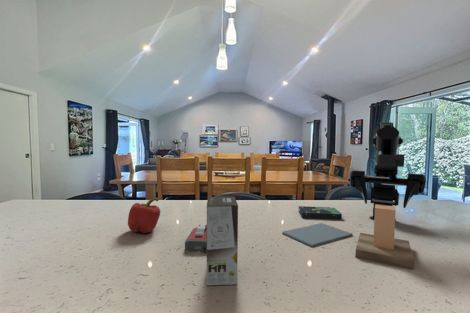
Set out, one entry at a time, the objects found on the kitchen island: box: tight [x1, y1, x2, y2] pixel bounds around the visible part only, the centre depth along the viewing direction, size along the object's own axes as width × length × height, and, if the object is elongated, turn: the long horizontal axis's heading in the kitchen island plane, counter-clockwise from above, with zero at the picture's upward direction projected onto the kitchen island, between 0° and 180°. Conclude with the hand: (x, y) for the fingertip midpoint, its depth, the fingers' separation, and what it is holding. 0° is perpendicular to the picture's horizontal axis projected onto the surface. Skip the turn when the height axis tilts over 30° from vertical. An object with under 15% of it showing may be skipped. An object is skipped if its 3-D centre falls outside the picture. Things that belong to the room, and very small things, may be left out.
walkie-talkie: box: [184, 224, 207, 253], centre depth 75 cm, size 9×4×20 cm
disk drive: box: [298, 205, 343, 221], centre depth 101 cm, size 10×3×15 cm
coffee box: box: [206, 196, 239, 286], centre depth 55 cm, size 9×6×16 cm
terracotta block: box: [373, 204, 396, 250], centre depth 66 cm, size 4×4×10 cm
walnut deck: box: [355, 232, 415, 270], centre depth 67 cm, size 14×12×2 cm
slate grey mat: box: [281, 222, 353, 248], centre depth 80 cm, size 18×12×1 cm, turn 121°
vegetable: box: [127, 197, 161, 234], centre depth 82 cm, size 11×10×10 cm
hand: (384, 205), depth 71 cm, fingers open, 9 cm apart
